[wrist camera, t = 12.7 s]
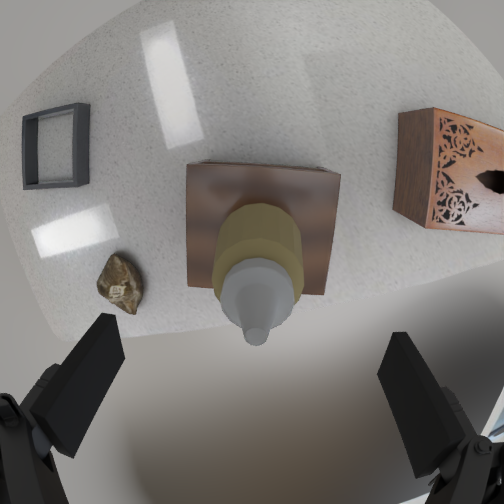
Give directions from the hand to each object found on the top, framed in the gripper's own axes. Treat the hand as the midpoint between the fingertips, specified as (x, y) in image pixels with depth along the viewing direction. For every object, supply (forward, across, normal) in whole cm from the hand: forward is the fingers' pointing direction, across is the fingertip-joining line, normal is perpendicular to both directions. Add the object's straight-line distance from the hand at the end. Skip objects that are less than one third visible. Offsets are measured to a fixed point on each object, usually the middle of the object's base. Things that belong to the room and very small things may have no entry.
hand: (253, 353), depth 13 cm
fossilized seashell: (+30, -21, -13) cm, 39 cm away
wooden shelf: (+30, 0, -1) cm, 30 cm away
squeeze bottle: (+20, 0, 0) cm, 20 cm away
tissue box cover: (+30, +32, +10) cm, 45 cm away
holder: (+30, -33, +10) cm, 45 cm away
